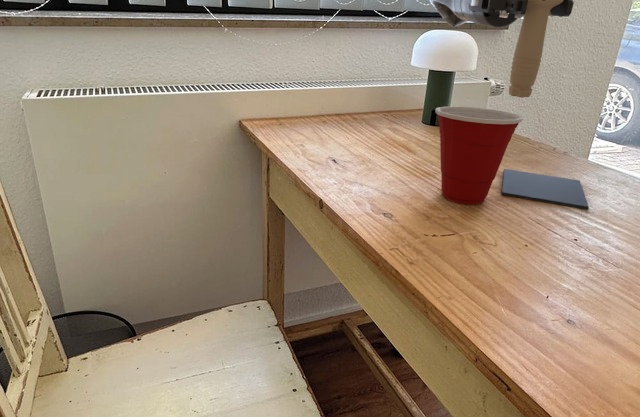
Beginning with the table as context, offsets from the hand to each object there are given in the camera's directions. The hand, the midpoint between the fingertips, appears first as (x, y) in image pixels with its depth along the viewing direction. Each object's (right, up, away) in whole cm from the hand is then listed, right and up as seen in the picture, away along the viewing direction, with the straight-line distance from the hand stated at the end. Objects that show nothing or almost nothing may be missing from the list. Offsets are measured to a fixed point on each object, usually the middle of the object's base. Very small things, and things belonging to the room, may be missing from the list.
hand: (547, 7), depth 70 cm
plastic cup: (-12, -27, -2) cm, 30 cm away
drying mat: (0, -26, +2) cm, 26 cm away
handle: (-1, -11, +8) cm, 13 cm away
